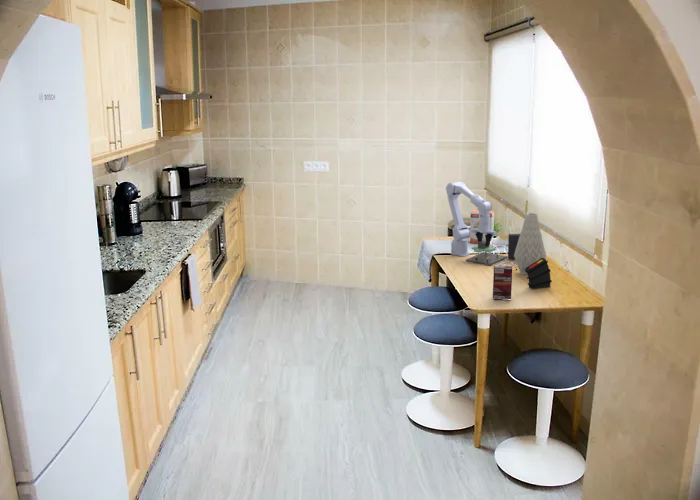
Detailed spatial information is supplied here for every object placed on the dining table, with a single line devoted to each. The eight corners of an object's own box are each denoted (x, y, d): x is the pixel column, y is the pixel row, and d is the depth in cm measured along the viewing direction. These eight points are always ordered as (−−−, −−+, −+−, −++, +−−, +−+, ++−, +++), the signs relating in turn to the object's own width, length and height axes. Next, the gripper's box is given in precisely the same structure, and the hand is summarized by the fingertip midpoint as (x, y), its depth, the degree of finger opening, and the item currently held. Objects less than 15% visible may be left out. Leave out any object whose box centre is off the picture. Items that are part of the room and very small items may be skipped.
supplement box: (493, 300, 296) (493, 268, 292) (492, 296, 301) (493, 265, 297) (511, 300, 295) (512, 268, 290) (510, 297, 299) (511, 265, 295)
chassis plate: (465, 261, 360) (465, 255, 359) (483, 253, 374) (483, 248, 373) (490, 265, 350) (490, 260, 349) (507, 257, 364) (507, 252, 363)
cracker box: (469, 243, 399) (470, 211, 394) (472, 241, 404) (472, 209, 399) (491, 245, 393) (491, 213, 387) (493, 242, 398) (494, 211, 392)
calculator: (526, 258, 362) (527, 233, 358) (528, 260, 358) (529, 235, 354) (507, 258, 363) (508, 233, 359) (508, 260, 359) (509, 235, 355)
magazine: (556, 283, 311) (546, 258, 306) (535, 296, 310) (524, 272, 305) (552, 281, 315) (542, 257, 310) (531, 294, 314) (520, 270, 308)
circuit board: (467, 250, 357) (468, 242, 355) (481, 245, 367) (481, 238, 366) (485, 253, 349) (485, 245, 348) (499, 248, 360) (499, 240, 358)
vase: (543, 279, 323) (546, 218, 315) (510, 276, 330) (512, 216, 321) (547, 270, 338) (550, 211, 329) (516, 267, 345) (518, 210, 336)
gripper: (469, 222, 356) (469, 245, 360) (492, 225, 347) (491, 248, 350) (476, 220, 361) (475, 242, 365) (498, 223, 351) (497, 246, 355)
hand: (484, 245), depth 358 cm, fingers closed on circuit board, 4 cm apart
